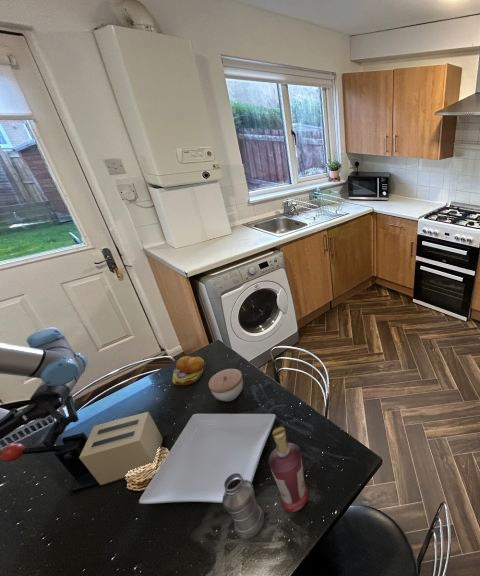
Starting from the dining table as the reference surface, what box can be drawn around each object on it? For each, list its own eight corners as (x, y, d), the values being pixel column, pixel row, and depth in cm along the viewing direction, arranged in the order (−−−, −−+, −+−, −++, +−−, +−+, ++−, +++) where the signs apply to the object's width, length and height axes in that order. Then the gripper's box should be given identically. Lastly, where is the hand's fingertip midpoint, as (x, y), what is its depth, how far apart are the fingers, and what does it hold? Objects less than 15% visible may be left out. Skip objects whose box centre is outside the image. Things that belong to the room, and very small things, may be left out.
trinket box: (211, 409, 107) (203, 390, 103) (217, 386, 116) (210, 368, 112) (244, 403, 110) (238, 384, 105) (247, 381, 119) (242, 362, 114)
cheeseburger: (169, 377, 120) (168, 355, 117) (200, 369, 127) (200, 348, 124) (175, 392, 113) (174, 369, 110) (207, 383, 121) (207, 361, 117)
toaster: (100, 486, 85) (77, 457, 79) (112, 453, 93) (93, 425, 87) (156, 468, 89) (139, 440, 83) (163, 438, 98) (148, 410, 91)
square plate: (247, 510, 80) (244, 502, 78) (141, 510, 80) (135, 502, 78) (278, 420, 104) (276, 412, 102) (196, 420, 103) (192, 412, 101)
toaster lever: (-3, 466, 75) (-5, 454, 74) (7, 451, 78) (5, 440, 77) (76, 458, 82) (76, 447, 80) (82, 445, 85) (82, 434, 84)
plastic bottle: (271, 521, 78) (255, 475, 68) (248, 549, 73) (228, 504, 63) (254, 506, 81) (237, 460, 71) (231, 532, 76) (209, 486, 66)
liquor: (313, 505, 81) (299, 437, 67) (285, 521, 78) (265, 453, 64) (304, 480, 87) (290, 413, 73) (278, 494, 83) (258, 426, 70)
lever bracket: (72, 493, 83) (45, 462, 77) (86, 462, 91) (62, 432, 84) (100, 484, 85) (76, 454, 79) (111, 455, 93) (90, 425, 86)
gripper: (108, 389, 99) (81, 446, 82) (5, 414, 91) (-49, 483, 74) (98, 372, 96) (68, 428, 79) (-11, 396, 87) (-71, 464, 70)
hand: (11, 455), depth 76 cm, fingers open, 13 cm apart
